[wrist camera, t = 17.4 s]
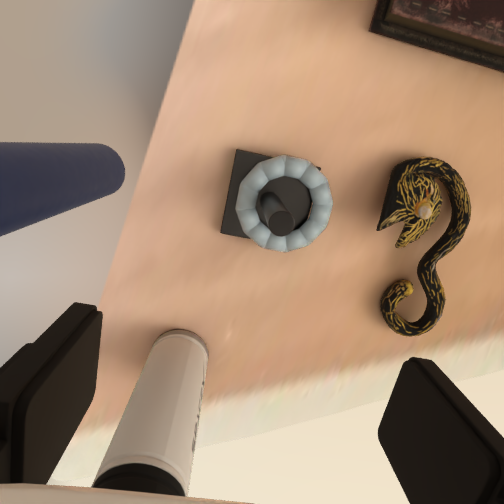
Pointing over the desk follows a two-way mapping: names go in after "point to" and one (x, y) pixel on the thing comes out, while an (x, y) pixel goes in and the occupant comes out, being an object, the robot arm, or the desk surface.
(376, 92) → the desk surface
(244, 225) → the ring
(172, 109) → the desk surface
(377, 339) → the desk surface
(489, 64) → the diary
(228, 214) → the stand
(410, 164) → the toy snake
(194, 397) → the travel mug
